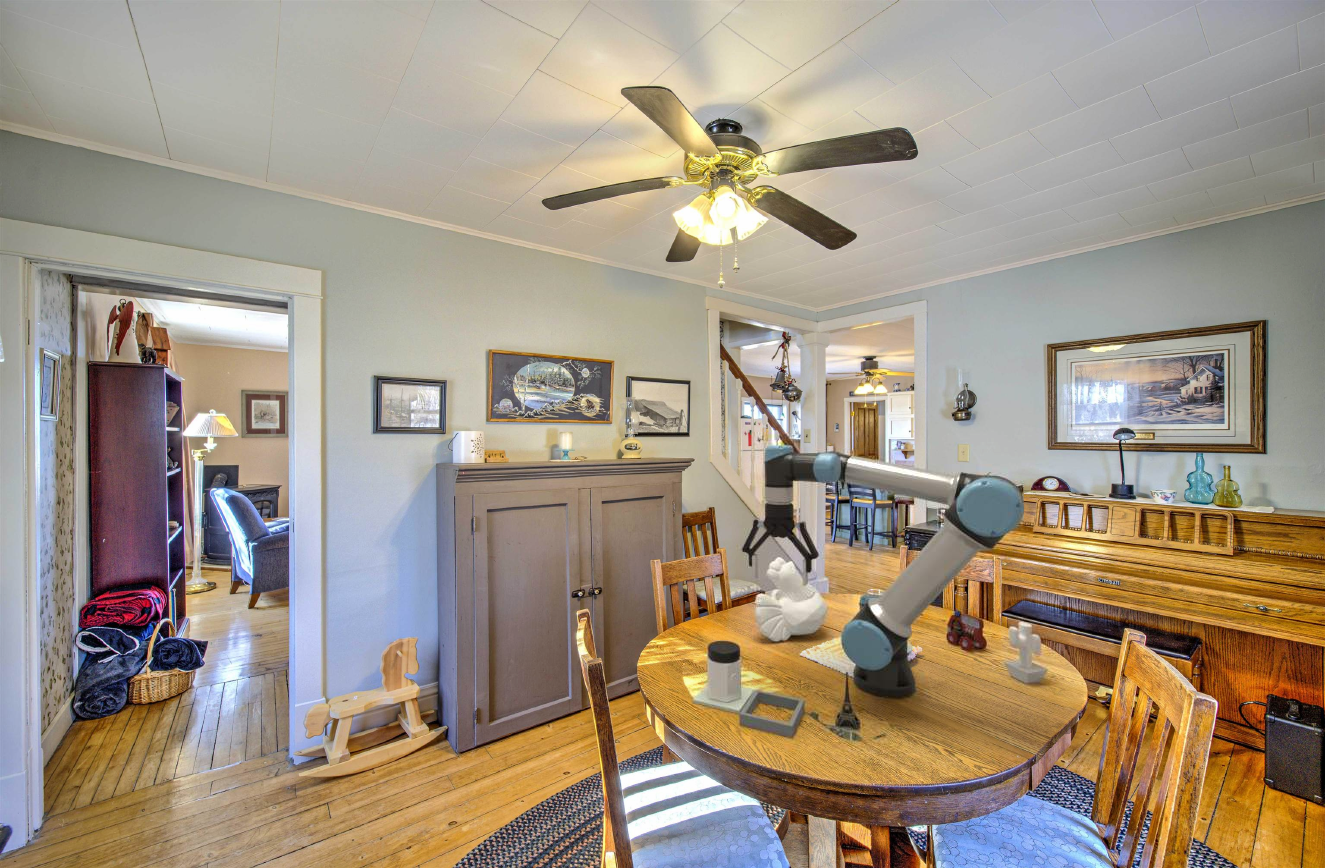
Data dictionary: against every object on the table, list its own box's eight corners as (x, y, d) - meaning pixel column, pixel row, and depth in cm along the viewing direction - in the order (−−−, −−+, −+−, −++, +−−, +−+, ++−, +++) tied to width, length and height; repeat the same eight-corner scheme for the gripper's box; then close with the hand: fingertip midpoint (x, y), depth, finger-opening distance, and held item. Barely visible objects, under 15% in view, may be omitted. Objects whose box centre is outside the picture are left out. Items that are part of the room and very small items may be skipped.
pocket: (804, 710, 127) (804, 699, 127) (792, 737, 115) (792, 726, 115) (756, 699, 132) (755, 689, 132) (739, 724, 121) (739, 713, 121)
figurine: (1052, 682, 140) (1051, 626, 141) (1024, 687, 138) (1024, 629, 138) (1026, 671, 147) (1025, 617, 148) (1000, 675, 145) (999, 620, 145)
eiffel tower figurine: (806, 715, 126) (805, 659, 126) (839, 706, 130) (839, 651, 130) (851, 749, 112) (851, 686, 112) (887, 738, 116) (887, 677, 116)
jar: (720, 706, 128) (720, 656, 128) (700, 692, 134) (699, 645, 135) (748, 695, 133) (748, 647, 133) (727, 683, 139) (727, 637, 139)
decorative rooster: (817, 603, 187) (772, 549, 187) (843, 608, 172) (795, 549, 172) (770, 655, 179) (723, 599, 179) (793, 665, 164) (742, 604, 164)
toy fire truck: (958, 637, 172) (957, 605, 172) (991, 652, 161) (991, 618, 161) (940, 640, 170) (940, 607, 170) (973, 655, 159) (973, 620, 159)
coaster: (754, 692, 136) (754, 689, 136) (739, 714, 126) (739, 710, 126) (710, 682, 142) (710, 679, 142) (692, 702, 131) (692, 699, 131)
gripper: (829, 503, 140) (829, 583, 140) (739, 498, 152) (739, 573, 151) (824, 506, 134) (825, 590, 134) (730, 501, 145) (730, 579, 145)
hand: (779, 581), depth 142 cm, fingers open, 13 cm apart
